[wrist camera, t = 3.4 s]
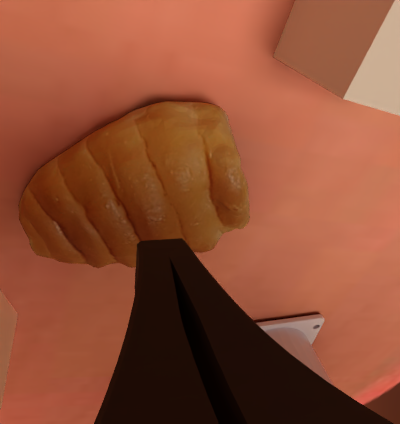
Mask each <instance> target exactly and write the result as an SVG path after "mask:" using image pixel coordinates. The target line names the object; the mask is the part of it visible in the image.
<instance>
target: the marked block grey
mask: <svg viewBox="0 0 400 424" xmlns="http://www.w3.org/2000/svg"><path fill="white" fill-rule="evenodd" d="M273 57H274V58H276V59H277V60H279V61H281V62H282V63H284V64H286V65H287V66H289V67H291V68H292V69H294V70H296V71H297V72H299V73H301V74H302V75H304V76H306V77H307V78H309V79H311V80H312V81H314V82H316V83H317V84H319V85H321V86H322V87H324V88H326V89H327V90H329V91H331V92H332V93H334V94H336V95H337V96H339V97H341V98H342V99H345V100H348V101H352V102H355V103H358V104H362V105H365V106H369V107H372V108H375V109H379V110H382V111H386V112H389V113H392V114H396V115H399V116H400V0H295V2H294V4H293V7H292V9H291V12H290V15H289V17H288V20H287V22H286V25H285V27H284V30H283V32H282V35H281V37H280V40H279V42H278V45H277V47H276V50H275V52H274V55H273Z"/></svg>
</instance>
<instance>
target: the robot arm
mask: <svg viewBox="0 0 400 424" xmlns="http://www.w3.org/2000/svg"><path fill="white" fill-rule="evenodd" d="M324 320H325V319H324V318H323V316H322V315H321V314H317V315H309V316H302V317H295V318H287V319H280V320H273V321H266V322H258V323H255V322H254V321H253V320H252V319H251V318H250V317H249V316H248V315H247V314H246V313H245V312H244V311H243V310H242V309H241V308H240V307H239V306H238V305H237V304H236V303H235V302H234V300H233V299H232V298H231V297H230V296H229V295H228V294H227V293H226V292H225V290H224V289H223V288H222V287H221V286H220V285H219V284H218V282H217V281H216V280H215V279H214V278H213V277H212V275H211V274H210V273H209V272H208V270H207V269H206V268H205V267H204V265H203V264H202V263H201V262H200V260H199V259H198V258H197V256H196V255H195V254H194V252H193V251H192V250H191V248H190V247H189V246H188V244H187V243H186V241H185V240H184V239H182V238H178V239H162V240H145V241H140V242H139V243H138V244H137V252H136V273H135V298H134V303H133V307H132V311H131V315H130V320H129V324H128V328H127V331H126V335H125V339H124V342H123V345H122V349H121V352H120V355H119V358H118V361H117V364H116V367H115V370H114V373H113V376H112V379H111V381H110V384H109V387H108V390H107V392H106V395H105V398H104V400H103V403H102V406H101V408H100V410H99V413H98V415H97V418H96V420H95V422H94V424H393V423H392V422H390V421H388V420H387V419H385V418H383V417H382V416H380V415H378V414H377V413H375V412H373V411H372V410H370V409H368V408H367V407H365V406H364V405H362V404H360V403H359V402H357V401H356V400H354V399H352V398H351V397H349V396H348V395H346V394H345V393H344V392H342V391H341V390H339V389H338V388H336V387H335V386H334V385H333V383H332V381H331V379H330V377H329V376H328V374H327V372H326V370H325V369H324V367H323V365H322V363H321V361H320V360H319V358H318V356H317V354H316V353H315V351H314V349H313V347H312V343H313V341H314V340H315V338H316V336H317V334H318V332H319V330H320V328H321V327H322V325H323V323H324Z"/></svg>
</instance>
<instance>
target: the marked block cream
mask: <svg viewBox="0 0 400 424" xmlns="http://www.w3.org/2000/svg"><path fill="white" fill-rule="evenodd" d="M17 318H18V313H17V312H16V310H15V309H14V308H13V306H12V305H11V304H10V302H9V301H8V300H7V298H6V297H5V295H4V294H3V293H2V291H1V290H0V409H1V406H2V400H3V395H4V389H5V384H6V378H7V373H8V368H9V362H10V357H11V351H12V346H13V340H14V335H15V329H16V324H17Z"/></svg>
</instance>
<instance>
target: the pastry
mask: <svg viewBox="0 0 400 424" xmlns="http://www.w3.org/2000/svg"><path fill="white" fill-rule="evenodd" d="M240 163H241V159H240V156H239V153H238V151H237V148H236V145H235V141H234V138H233V135H232V130H231V127H230V125H229V119H228V116H227V114H226V113H225V111H224V110H223V109H222V108H220V107H219V106H216V105H213V104H209V103H203V102H173V101H166V102H160V103H155V104H152V105H149V106H146V107H143V108H140V109H135V110H133V111H132V112H130V113H128V114H127V115H125V116H123V117H122V118H120V119H119V120H116V121H113V122H111V123H109V124H108V125H106V126H105V127H103V128H101V129H99V130H97V131H95V132H93V133H92V134H90V135H89V136H87V137H86V138H84V139H82V140H81V141H79V142H78V143H76V144H75V145H74V146H72V147H71V148H69V149H68V150H66V151H65V152H63V153H62V154H60V155H58V156H57V157H55V158H54V159H52V160H51V161H49V162H48V163H46V164H45V165H44V166H43V167H41V168H40V169H39V170H38V171H37V172H36V173H35V175H34V176H33V178H32V180H31V181H30V183H29V184H28V185H27V187H26V189H25V191H24V193H23V195H22V198H21V200H20V202H19V205H18V206H19V220H20V222H21V224H22V226H23V229H24V231H25V233H26V234H27V236H28V238H29V240H30V245H31V248H32V250H33V251H34V252H35V253H36V255H39V256H43V257H47V258H52V259H55V260H57V261H59V262H65V263H78V264H89V265H91V266H93V267H96V268H100V267H103V266H105V265H108V264H111V263H121V264H124V265H126V266H128V267H136V252H137V244H138V243H139V242H140V241H145V240H162V239H178V238H182V239H184V240H185V241H186V243H187V244H188V246H189V247H190V248H191V250H192V251H194V252H206V251H209V250H212V249H213V248H214V247H215V245H216V244H217V242H218V240H219V239H220V237H221V236H222V234H223V233H225V232H229V231H232V230H234V229H242V228H244V227H245V226H246V225H247V223H248V222H249V218H250V216H249V197H248V185H247V181H246V178H245V176H244V174H243V172H242V170H241V167H240Z"/></svg>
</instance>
